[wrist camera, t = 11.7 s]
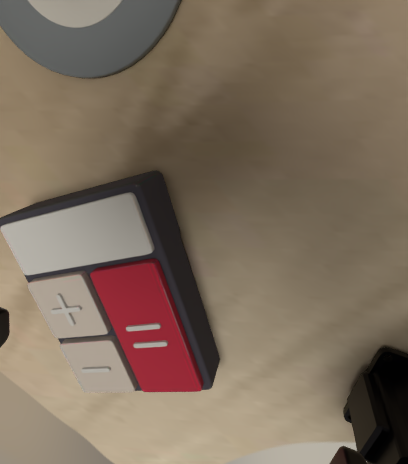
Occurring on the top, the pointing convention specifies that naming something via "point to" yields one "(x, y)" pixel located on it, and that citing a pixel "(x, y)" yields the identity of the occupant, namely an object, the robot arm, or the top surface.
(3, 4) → the coaster
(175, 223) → the calculator
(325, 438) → the top surface
